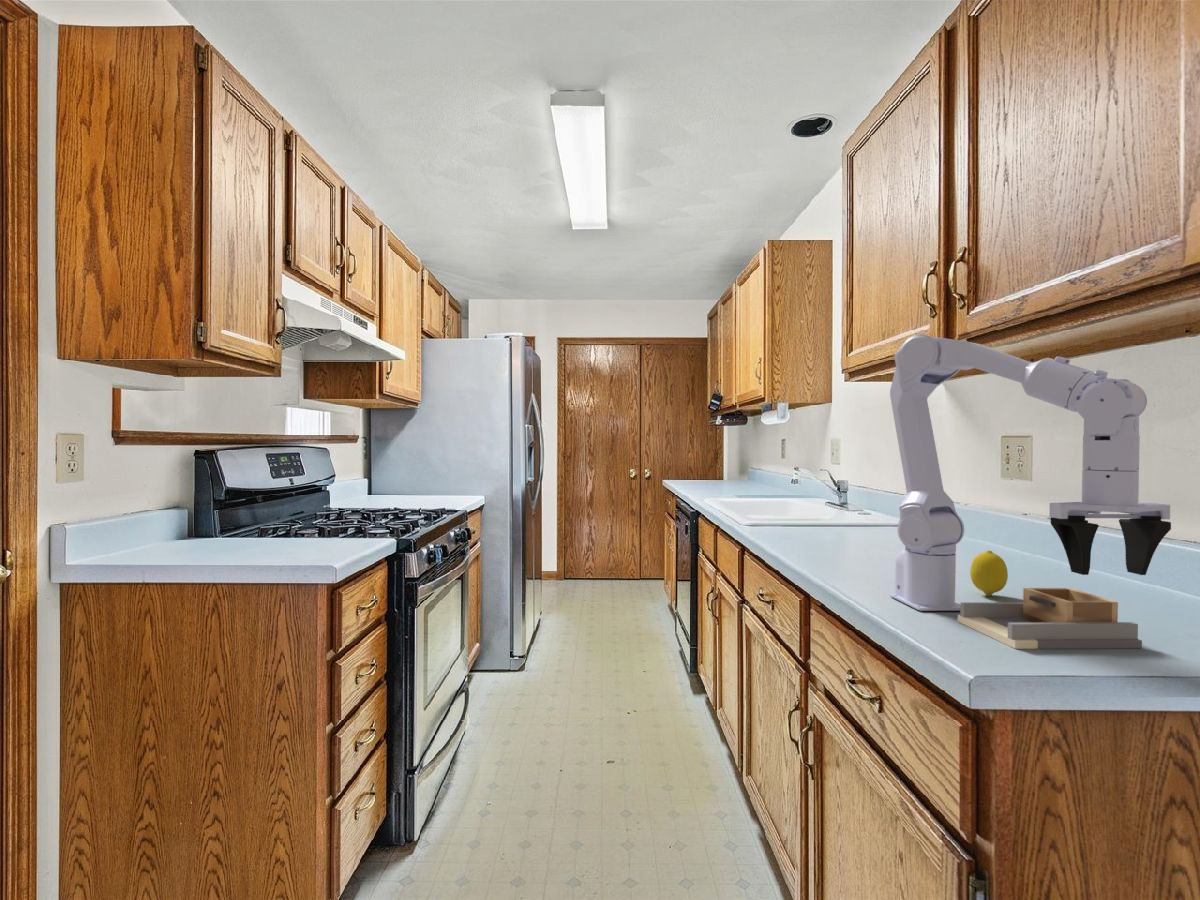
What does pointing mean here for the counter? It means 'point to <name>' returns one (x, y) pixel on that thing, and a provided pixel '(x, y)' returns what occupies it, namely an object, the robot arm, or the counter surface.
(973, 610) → the bay
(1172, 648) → the counter surface
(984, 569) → the lemon
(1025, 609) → the crate
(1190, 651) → the counter surface
